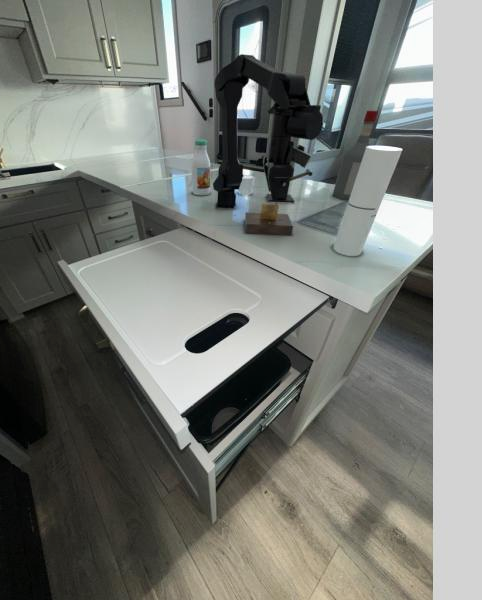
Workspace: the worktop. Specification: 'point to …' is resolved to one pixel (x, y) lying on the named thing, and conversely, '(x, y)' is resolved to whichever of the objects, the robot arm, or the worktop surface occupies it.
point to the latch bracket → (282, 194)
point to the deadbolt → (269, 211)
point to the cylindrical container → (366, 198)
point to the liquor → (353, 160)
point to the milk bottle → (201, 169)
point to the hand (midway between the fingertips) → (272, 195)
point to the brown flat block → (268, 224)
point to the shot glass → (246, 185)
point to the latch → (302, 175)
